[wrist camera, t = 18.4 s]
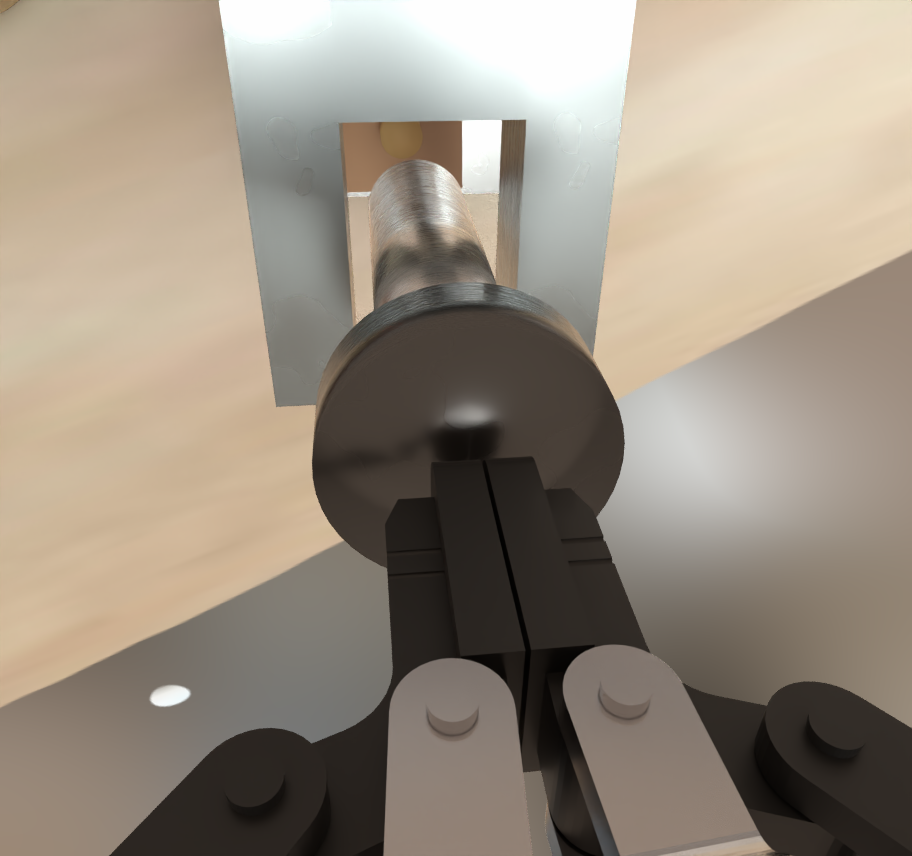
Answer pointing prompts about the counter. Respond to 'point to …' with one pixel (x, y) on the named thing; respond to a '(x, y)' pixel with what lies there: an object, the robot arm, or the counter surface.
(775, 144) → the counter surface
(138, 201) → the counter surface
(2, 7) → the sugar bowl
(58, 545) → the counter surface
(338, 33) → the press
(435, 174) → the ram
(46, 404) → the counter surface
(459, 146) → the block
